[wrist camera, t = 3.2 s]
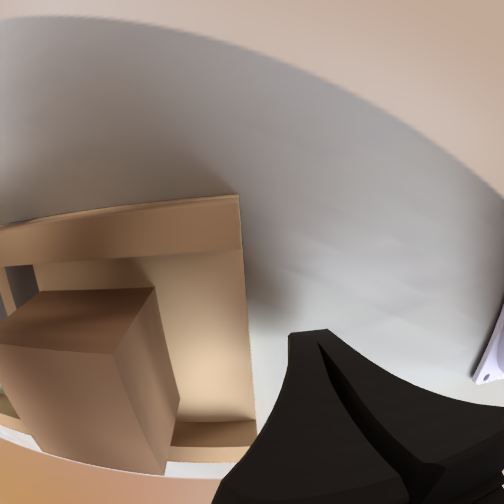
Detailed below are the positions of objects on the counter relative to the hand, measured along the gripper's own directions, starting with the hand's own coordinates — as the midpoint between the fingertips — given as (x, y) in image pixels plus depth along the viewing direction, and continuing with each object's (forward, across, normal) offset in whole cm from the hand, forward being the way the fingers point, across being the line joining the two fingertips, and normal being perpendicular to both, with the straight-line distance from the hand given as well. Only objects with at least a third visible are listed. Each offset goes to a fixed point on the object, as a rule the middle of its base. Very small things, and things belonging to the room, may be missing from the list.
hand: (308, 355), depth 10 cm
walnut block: (+1, +7, 0) cm, 7 cm away
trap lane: (+2, +12, 0) cm, 12 cm away
